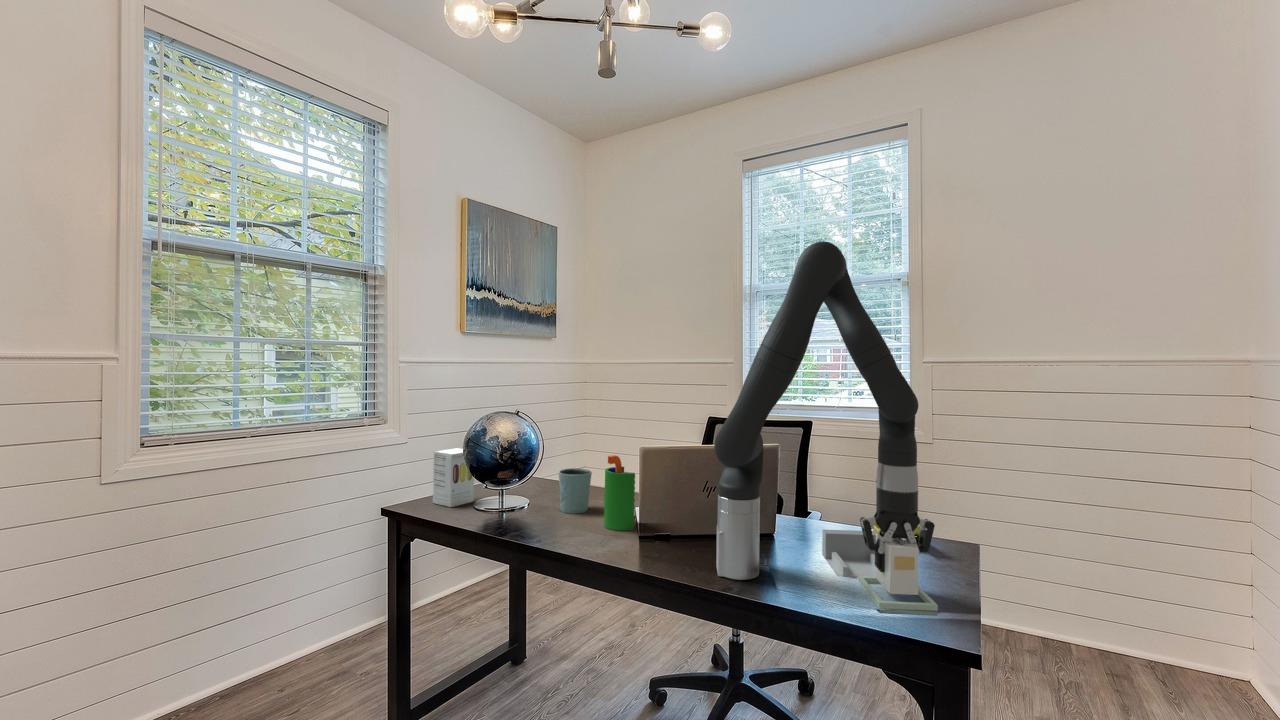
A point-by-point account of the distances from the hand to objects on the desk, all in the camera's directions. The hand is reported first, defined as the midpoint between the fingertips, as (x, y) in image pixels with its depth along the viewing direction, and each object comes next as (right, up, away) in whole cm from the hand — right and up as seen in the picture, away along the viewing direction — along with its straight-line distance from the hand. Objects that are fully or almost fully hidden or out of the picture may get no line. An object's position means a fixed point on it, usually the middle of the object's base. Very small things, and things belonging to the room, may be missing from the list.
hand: (896, 570), depth 110 cm
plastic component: (+17, -6, +35) cm, 39 cm away
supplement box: (-112, -4, +69) cm, 131 cm away
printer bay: (-2, -6, +14) cm, 16 cm away
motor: (-57, -5, +47) cm, 74 cm away
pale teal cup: (-71, -5, +62) cm, 95 cm away
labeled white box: (0, -3, 0) cm, 3 cm away
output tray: (0, -6, 0) cm, 6 cm away
